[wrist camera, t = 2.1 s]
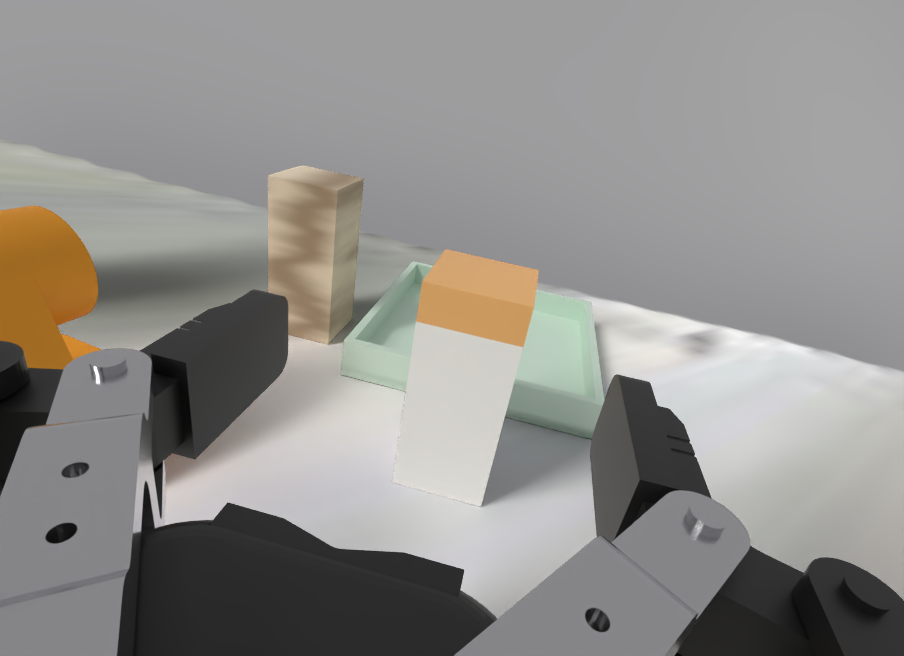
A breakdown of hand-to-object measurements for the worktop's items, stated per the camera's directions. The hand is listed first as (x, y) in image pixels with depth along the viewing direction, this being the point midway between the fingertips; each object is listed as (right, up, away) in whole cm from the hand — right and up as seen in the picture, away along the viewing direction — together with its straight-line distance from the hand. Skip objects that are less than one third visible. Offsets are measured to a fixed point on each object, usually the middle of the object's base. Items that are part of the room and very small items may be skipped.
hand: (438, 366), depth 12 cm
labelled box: (0, -7, +17) cm, 19 cm away
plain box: (-11, +1, +29) cm, 31 cm away
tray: (+3, -1, +31) cm, 31 cm away
